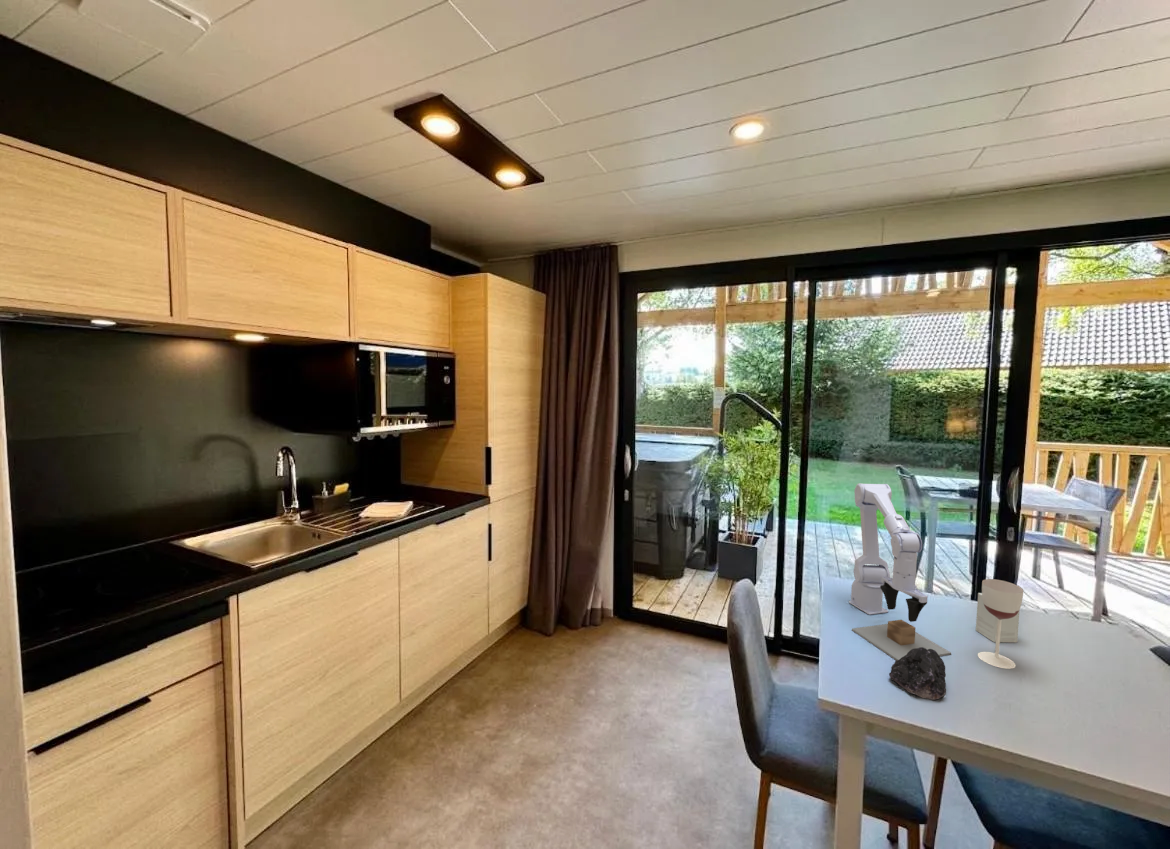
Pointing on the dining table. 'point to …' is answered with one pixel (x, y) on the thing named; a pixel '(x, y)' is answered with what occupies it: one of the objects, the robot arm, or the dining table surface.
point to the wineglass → (1000, 614)
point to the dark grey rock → (920, 673)
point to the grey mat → (891, 648)
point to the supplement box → (995, 624)
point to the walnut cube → (901, 632)
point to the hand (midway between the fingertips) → (901, 614)
